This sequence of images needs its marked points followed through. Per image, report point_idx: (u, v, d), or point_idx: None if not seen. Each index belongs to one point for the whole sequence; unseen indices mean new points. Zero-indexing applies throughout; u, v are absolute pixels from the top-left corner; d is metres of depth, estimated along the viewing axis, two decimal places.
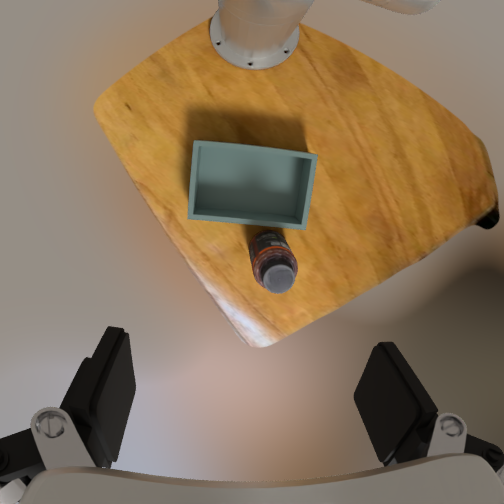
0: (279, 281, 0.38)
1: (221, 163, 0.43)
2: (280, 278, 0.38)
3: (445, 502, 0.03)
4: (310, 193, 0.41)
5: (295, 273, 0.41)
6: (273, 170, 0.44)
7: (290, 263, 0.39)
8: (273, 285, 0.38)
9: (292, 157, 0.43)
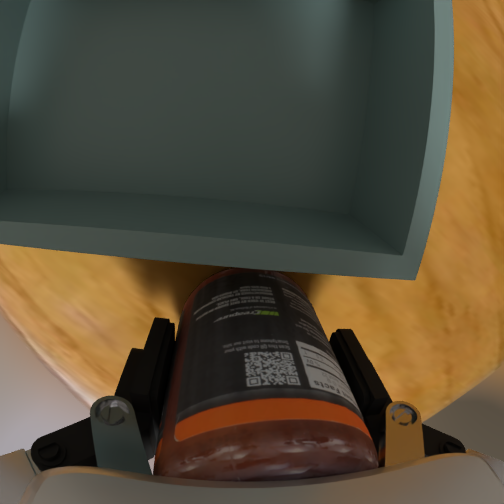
0: None
1: (74, 30, 0.08)
2: None
3: (445, 502, 0.03)
4: (446, 101, 0.06)
5: None
6: (263, 33, 0.09)
7: None
8: None
9: None
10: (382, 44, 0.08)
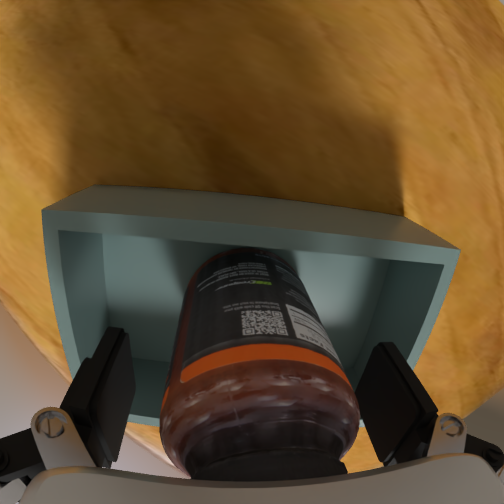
0: None
1: (160, 255, 0.14)
2: None
3: (445, 502, 0.03)
4: (417, 355, 0.13)
5: (348, 449, 0.08)
6: (313, 272, 0.15)
7: (335, 435, 0.06)
8: None
9: None
10: (394, 279, 0.15)
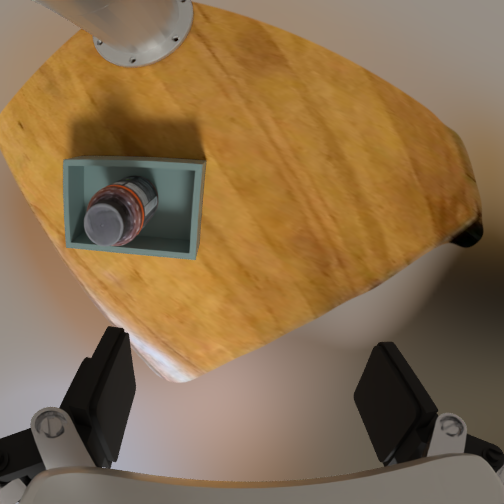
0: (103, 228, 0.25)
1: (104, 181, 0.34)
2: (104, 222, 0.25)
3: (445, 502, 0.03)
4: (196, 214, 0.32)
5: (136, 220, 0.27)
6: (162, 186, 0.35)
7: (124, 205, 0.26)
8: (96, 234, 0.25)
9: None
10: None
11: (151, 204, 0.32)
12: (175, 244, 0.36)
